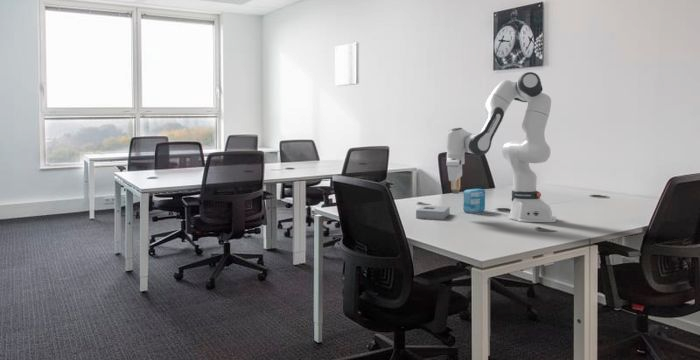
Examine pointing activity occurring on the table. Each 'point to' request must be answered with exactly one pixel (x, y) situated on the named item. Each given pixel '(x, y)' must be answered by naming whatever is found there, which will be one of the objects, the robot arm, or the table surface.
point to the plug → (456, 191)
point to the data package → (474, 200)
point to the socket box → (433, 212)
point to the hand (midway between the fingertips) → (455, 187)
